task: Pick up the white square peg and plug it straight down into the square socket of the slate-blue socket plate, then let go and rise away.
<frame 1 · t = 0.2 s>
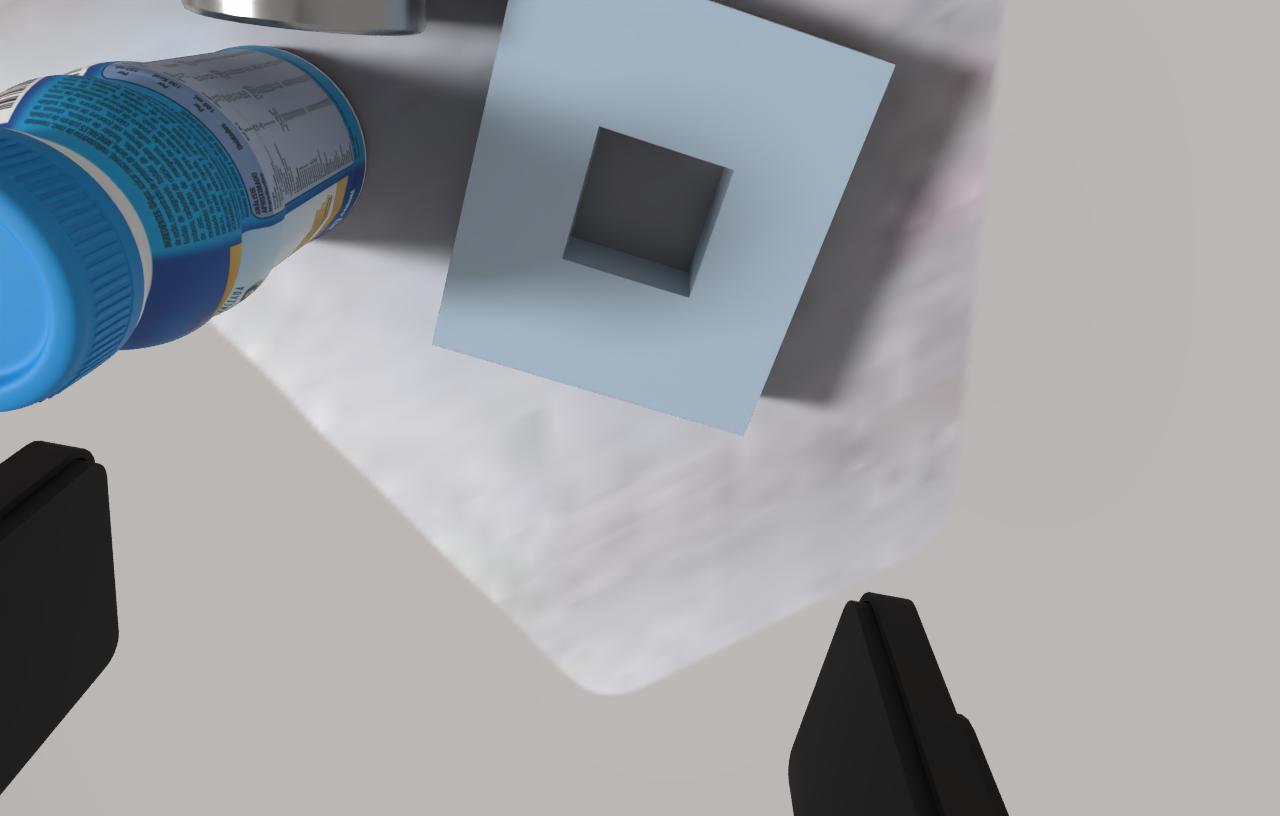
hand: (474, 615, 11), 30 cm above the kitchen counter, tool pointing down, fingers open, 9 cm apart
socket plate: (648, 190, 39), on the kitchen counter
beverage bottle: (279, 144, 39), on the kitchen counter
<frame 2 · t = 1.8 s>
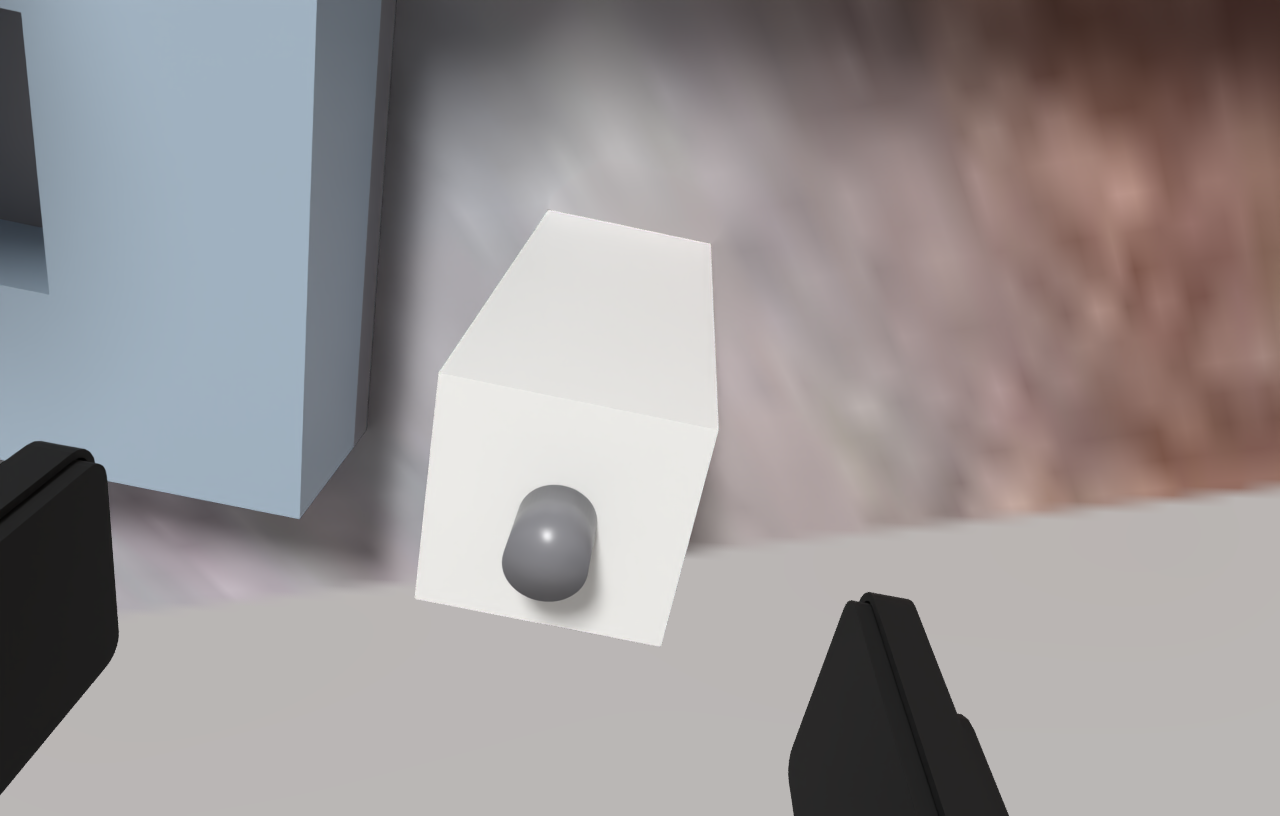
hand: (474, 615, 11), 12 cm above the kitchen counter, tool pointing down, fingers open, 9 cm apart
white square peg: (614, 303, 22), on the kitchen counter
socket plate: (50, 105, 21), on the kitchen counter
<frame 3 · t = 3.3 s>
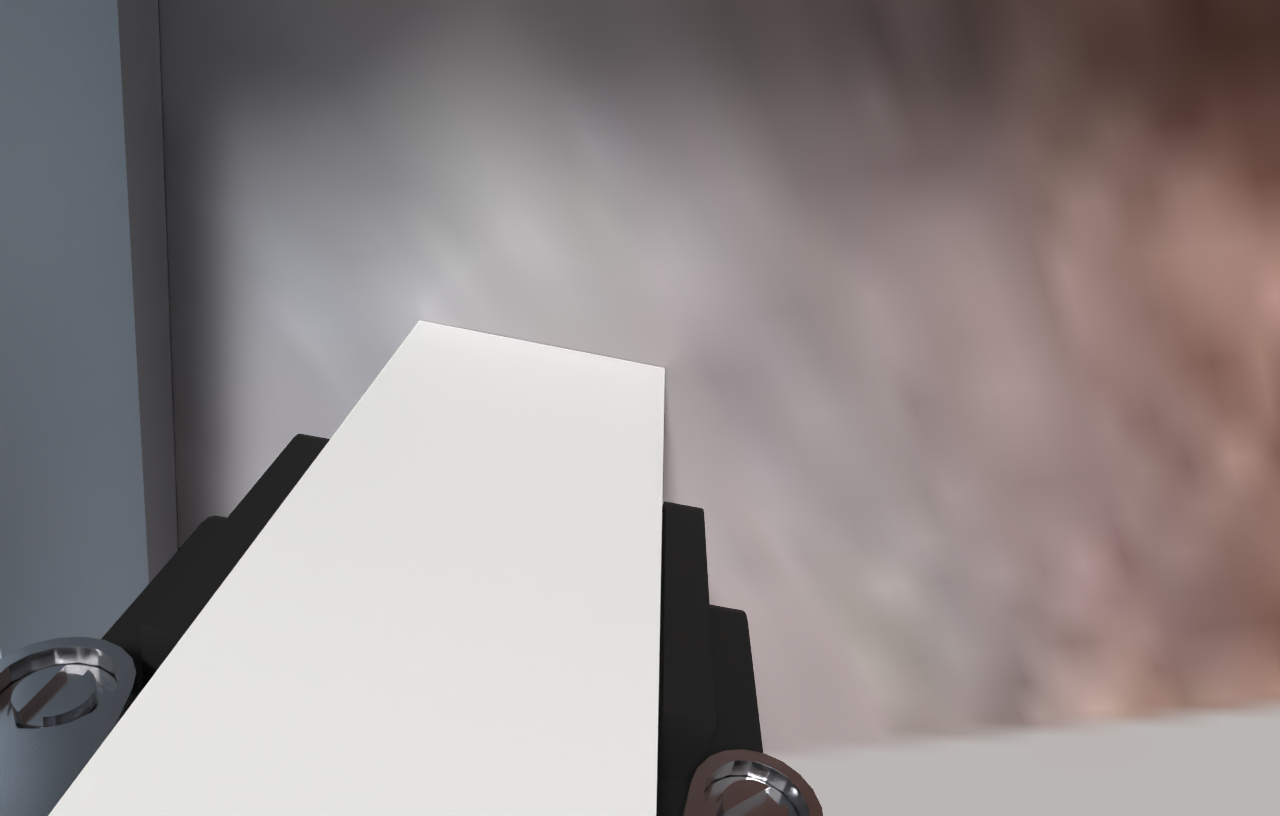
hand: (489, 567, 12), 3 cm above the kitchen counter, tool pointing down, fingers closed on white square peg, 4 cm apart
white square peg: (525, 451, 15), on the kitchen counter, touching gripper
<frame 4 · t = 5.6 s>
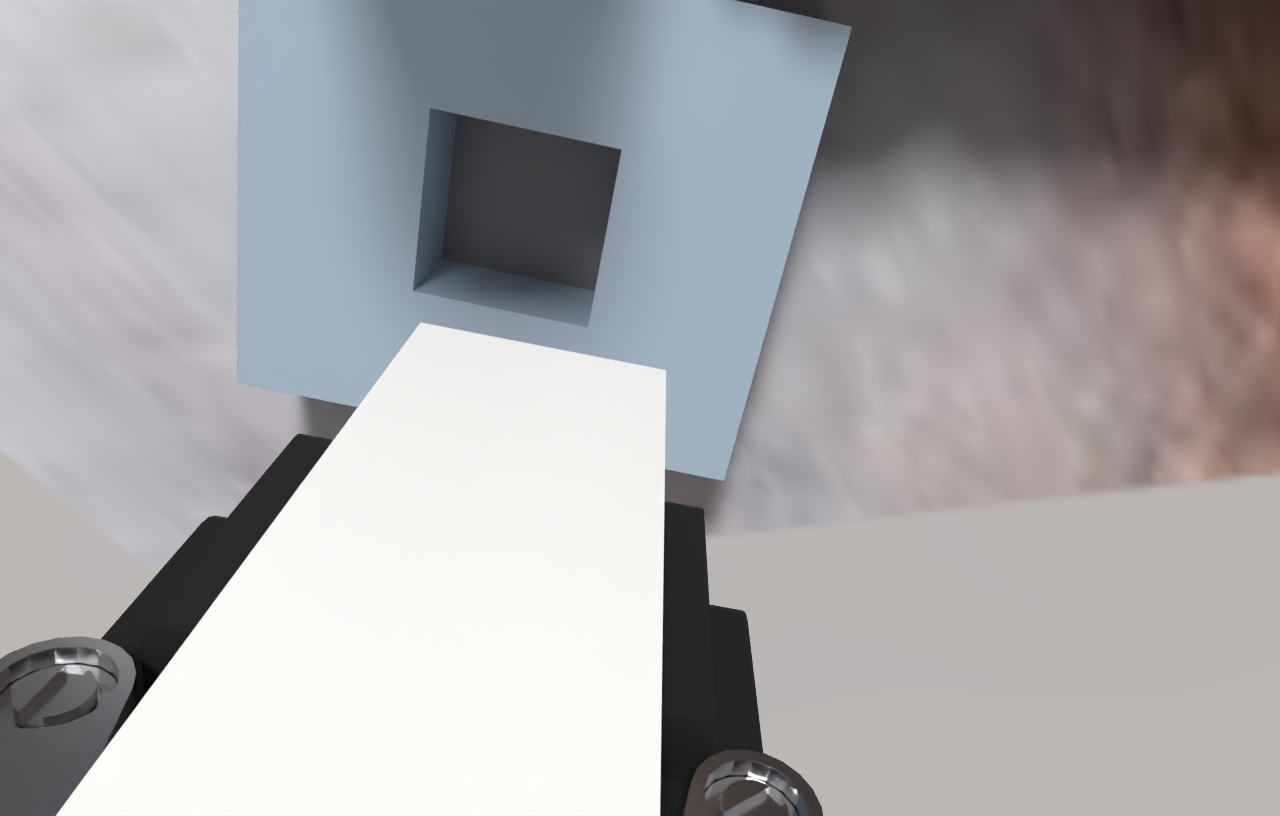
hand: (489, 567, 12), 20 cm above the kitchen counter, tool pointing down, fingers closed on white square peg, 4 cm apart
white square peg: (527, 453, 15), point 17 cm above the kitchen counter, touching gripper
socket plate: (536, 190, 30), on the kitchen counter
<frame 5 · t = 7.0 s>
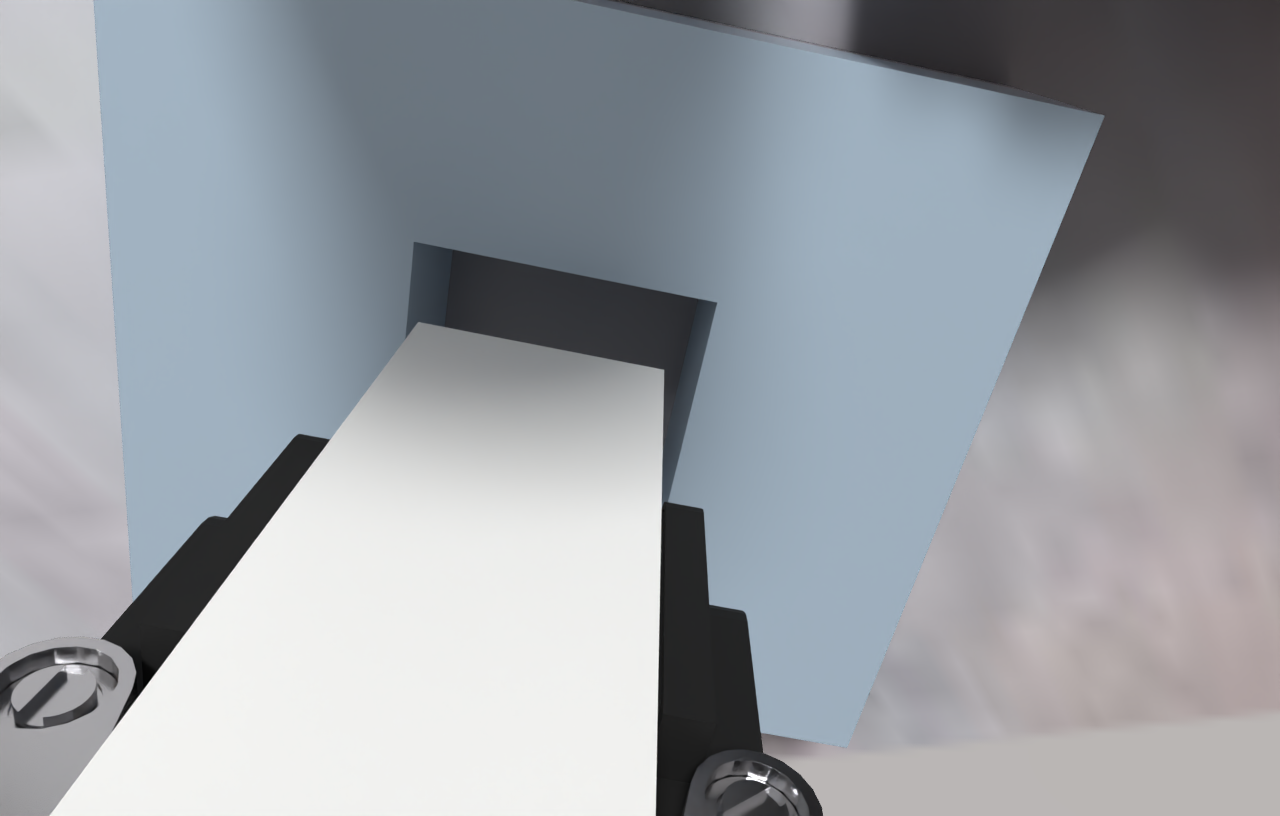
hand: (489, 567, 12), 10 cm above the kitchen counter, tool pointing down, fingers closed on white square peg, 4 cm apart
white square peg: (524, 453, 15), point 6 cm above the kitchen counter, touching gripper
socket plate: (569, 325, 21), on the kitchen counter
when the fingers open (5 cm above the kitchen counter, at t = 8.3 s): white square peg stays where it is, resting on socket plate.
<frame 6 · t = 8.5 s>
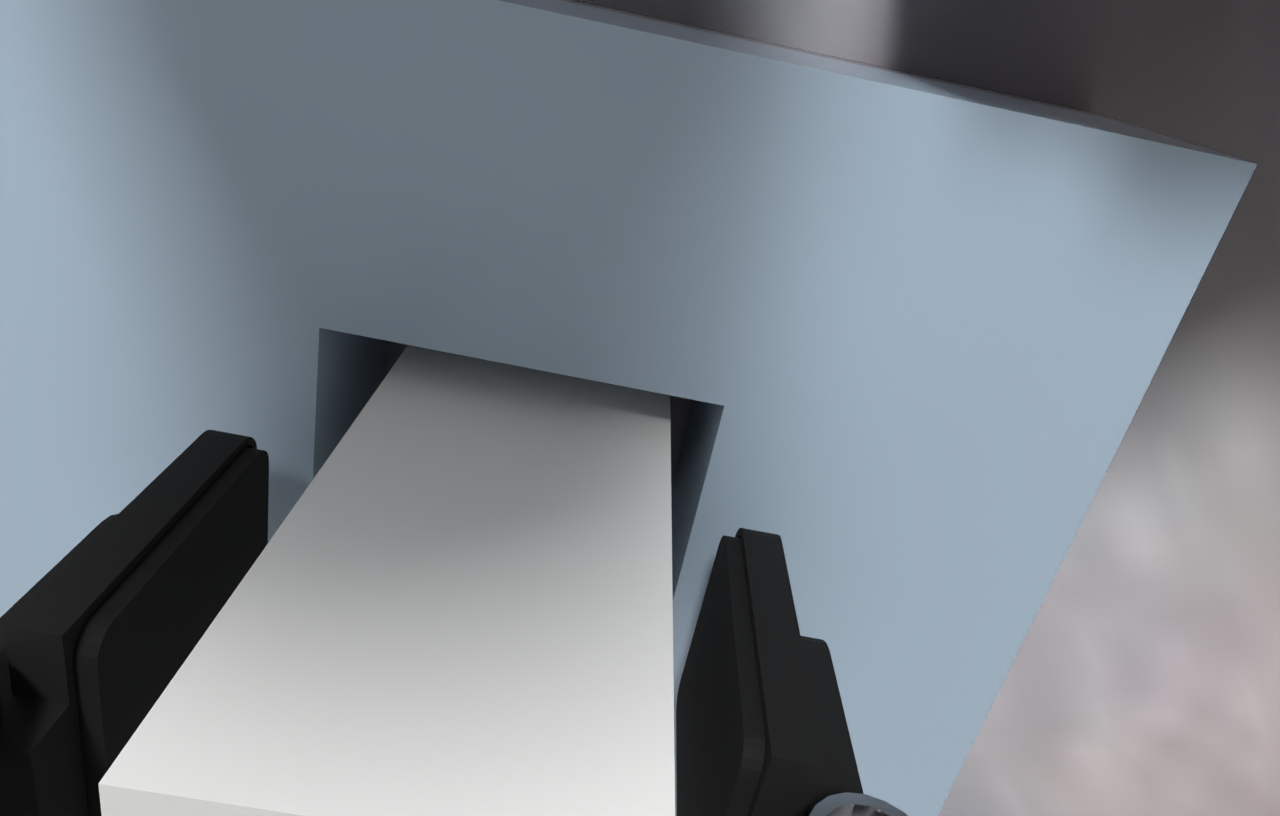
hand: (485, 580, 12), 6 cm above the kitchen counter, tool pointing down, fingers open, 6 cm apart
white square peg: (537, 427, 16), point 1 cm above the kitchen counter, touching socket plate
socket plate: (540, 402, 17), on the kitchen counter
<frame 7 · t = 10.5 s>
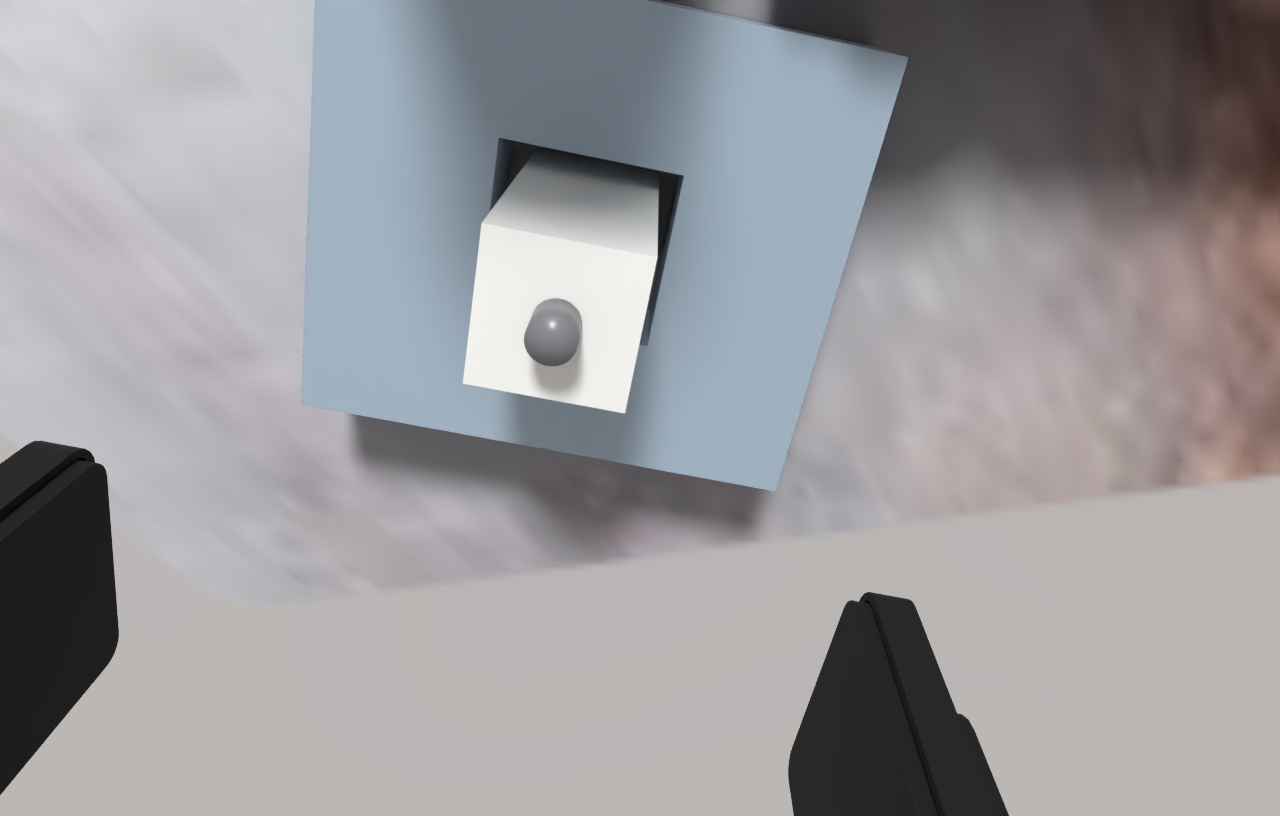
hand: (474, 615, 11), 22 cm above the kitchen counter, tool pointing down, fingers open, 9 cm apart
white square peg: (588, 219, 30), point 1 cm above the kitchen counter, touching socket plate
socket plate: (588, 211, 31), on the kitchen counter
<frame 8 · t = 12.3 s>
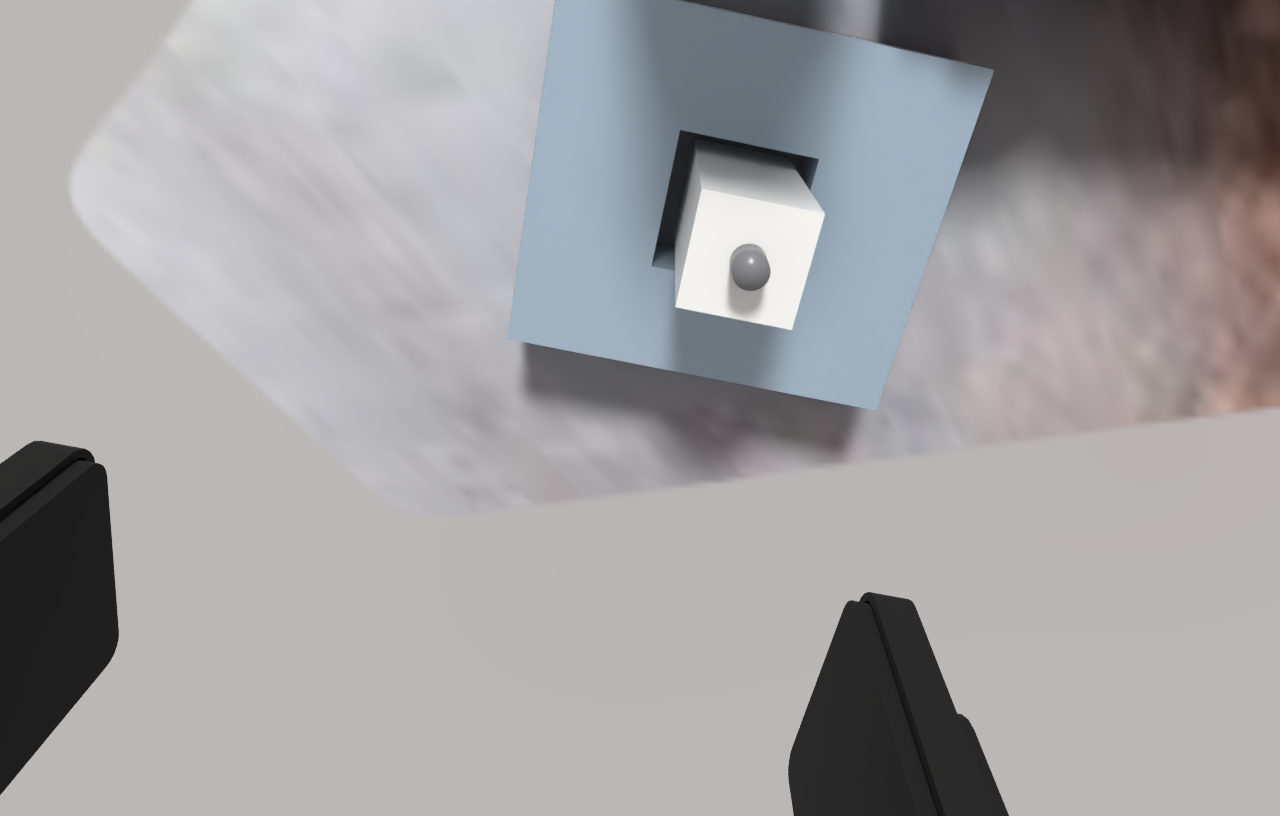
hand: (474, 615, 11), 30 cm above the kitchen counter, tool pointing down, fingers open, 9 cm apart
white square peg: (730, 195, 38), point 1 cm above the kitchen counter, touching socket plate
socket plate: (726, 190, 39), on the kitchen counter
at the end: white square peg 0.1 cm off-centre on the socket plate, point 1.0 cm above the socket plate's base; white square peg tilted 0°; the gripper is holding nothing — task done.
